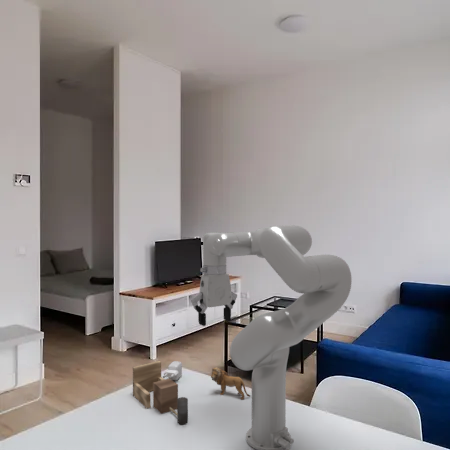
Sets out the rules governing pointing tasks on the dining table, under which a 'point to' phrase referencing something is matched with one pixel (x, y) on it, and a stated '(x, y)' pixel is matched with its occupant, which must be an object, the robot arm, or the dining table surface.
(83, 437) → the dining table surface
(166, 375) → the power adapter
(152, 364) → the wooden stand
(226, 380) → the lion figurine
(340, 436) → the dining table surface
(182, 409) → the wooden lever toy
